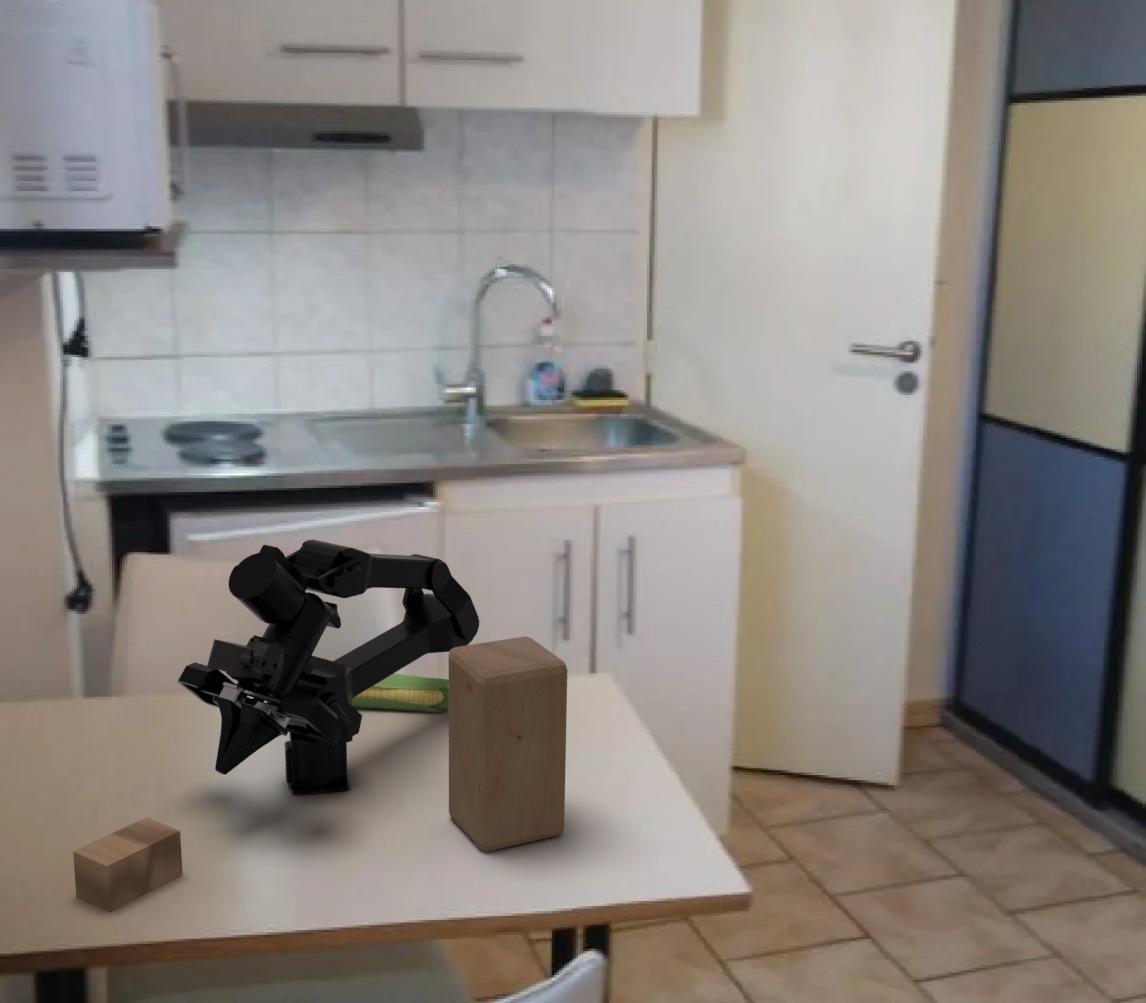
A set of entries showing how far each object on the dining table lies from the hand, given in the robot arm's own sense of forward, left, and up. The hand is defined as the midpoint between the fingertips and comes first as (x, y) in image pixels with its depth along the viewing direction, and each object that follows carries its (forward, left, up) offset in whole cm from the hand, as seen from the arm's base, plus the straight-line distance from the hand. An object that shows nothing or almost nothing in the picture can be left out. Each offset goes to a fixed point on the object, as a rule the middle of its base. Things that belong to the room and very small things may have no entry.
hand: (220, 772), depth 155 cm
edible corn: (-22, -31, -8) cm, 39 cm away
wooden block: (-30, +4, -7) cm, 31 cm away
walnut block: (+6, +6, -5) cm, 10 cm away
